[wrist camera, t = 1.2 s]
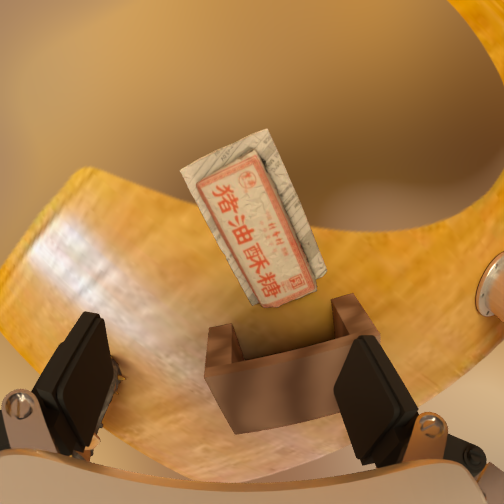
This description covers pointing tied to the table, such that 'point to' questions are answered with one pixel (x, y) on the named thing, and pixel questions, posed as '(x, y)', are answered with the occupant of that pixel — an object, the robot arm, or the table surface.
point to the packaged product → (257, 219)
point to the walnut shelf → (282, 374)
